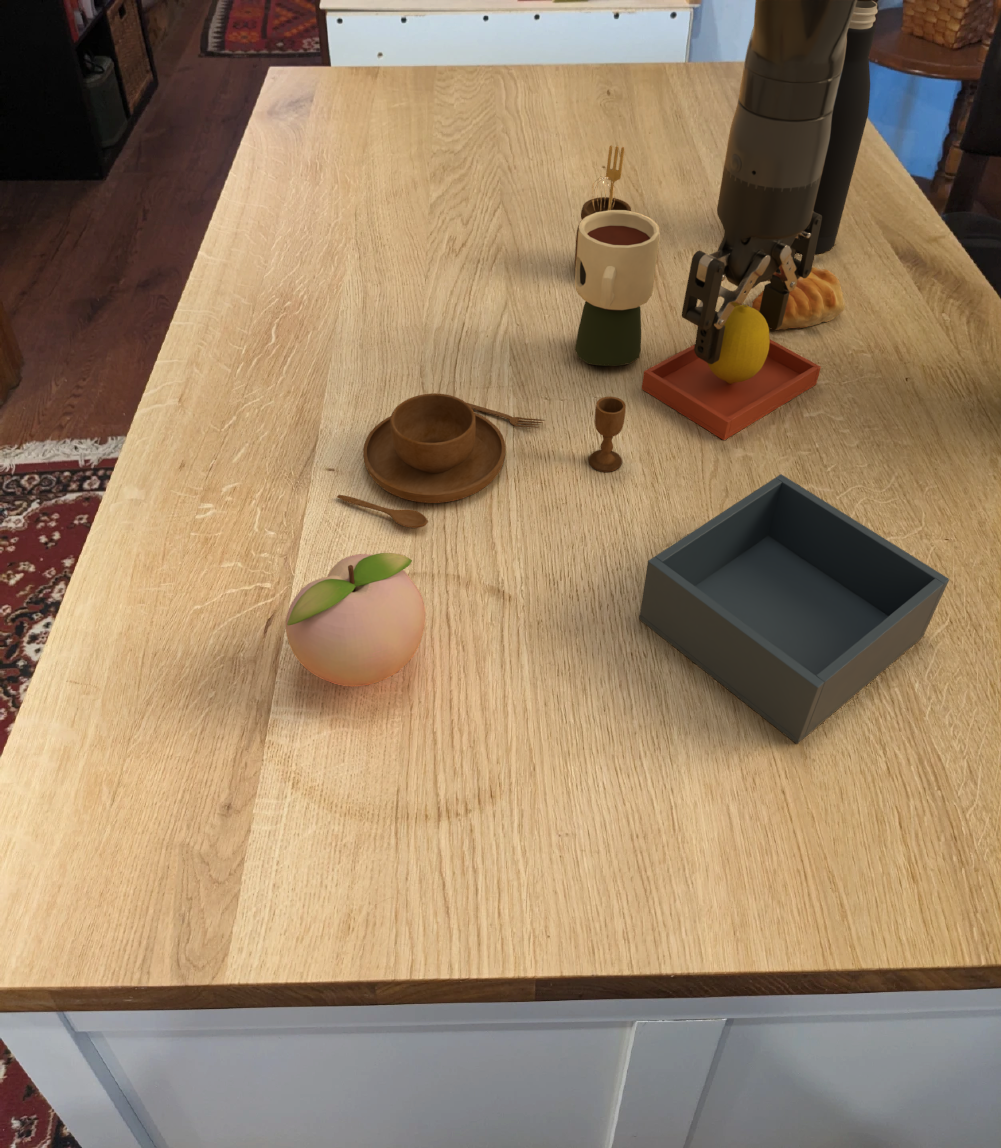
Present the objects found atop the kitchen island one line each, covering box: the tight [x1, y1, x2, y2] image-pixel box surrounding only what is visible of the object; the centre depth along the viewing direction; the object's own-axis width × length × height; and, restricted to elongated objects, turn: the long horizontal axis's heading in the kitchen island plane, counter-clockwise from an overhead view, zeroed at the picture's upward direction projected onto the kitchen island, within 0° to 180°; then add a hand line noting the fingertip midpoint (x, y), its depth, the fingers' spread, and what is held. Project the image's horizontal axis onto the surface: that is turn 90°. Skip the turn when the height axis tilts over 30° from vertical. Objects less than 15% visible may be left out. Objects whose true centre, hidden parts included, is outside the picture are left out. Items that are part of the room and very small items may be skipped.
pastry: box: [751, 266, 846, 331], centre depth 102 cm, size 9×7×4 cm
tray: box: [641, 339, 822, 441], centre depth 94 cm, size 13×10×2 cm
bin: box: [638, 473, 950, 745], centre depth 71 cm, size 14×14×6 cm
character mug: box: [574, 210, 660, 367], centre depth 93 cm, size 11×7×13 cm, turn 166°
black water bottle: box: [795, 0, 878, 255], centre depth 103 cm, size 6×6×30 cm
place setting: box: [336, 392, 627, 529], centre depth 83 cm, size 18×20×6 cm
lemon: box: [708, 304, 770, 384], centre depth 91 cm, size 6×6×8 cm
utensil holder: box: [574, 145, 632, 269], centre depth 105 cm, size 6×6×12 cm
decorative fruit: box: [285, 552, 426, 687], centre depth 67 cm, size 9×8×10 cm
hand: (738, 341), depth 91 cm, fingers open, 8 cm apart
